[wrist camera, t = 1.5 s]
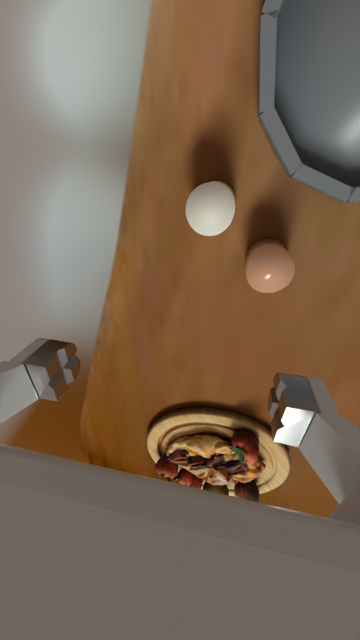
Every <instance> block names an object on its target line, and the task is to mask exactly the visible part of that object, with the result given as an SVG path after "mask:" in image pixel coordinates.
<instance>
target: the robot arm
mask: <svg viewBox="0 0 360 640" xmlns="http://www.w3.org/2000/svg"><path fill="white" fill-rule="evenodd" d="M76 352H77V349H76V346H75V344H73V343H69V342H64V341H58V340H52V339H51V340H50V339H45V338H39V339H36V340H35V341H33V342H32V343H31V344H30V345H28V346H27V347H26V348H25V349H23V350H22V351H21V352H20V353H19V354H17V355H16V356H15V357H14V358H12V359H11V360H10V361H9V362H7V361H4V362H2V363H0V423H2V422H3V421H4V420H6V419H8V418H9V417H11V416H12V415H14V414H16V413H17V412H19V411H21V410H22V409H24V408H25V407H27V406H28V405H30V404H32V403H33V402H35V401H36V400H38V398H42V399H47V400H53V401H58V400H59V399H60V398H61V396H62V395H63V394H64V393H65V391H66V390H67V389H68V386H67V384H68V383H70V382H72V381H74V380H75V378H76V377H77V376H78V373H79V371H80V360H79V358H78V357H77V356H76V355H75V353H76ZM273 382H274V387H272V388H271V389H270V392H269V397H268V411H269V415H270V416H271V417H272V418H273V419H272V422H271V431H272V437H273V442H277V443H282V444H287V445H291V446H296V447H299V449H300V451H301V452H302V453H303V455H304V456H305V458H306V459H307V460H308V462H309V463H310V465H311V466H312V467H313V469H314V470H315V471H316V473H317V474H318V476H319V477H320V478H321V480H322V481H323V483H324V484H325V485H326V487H327V488H328V489H329V491H330V492H331V494H332V495H333V496H334V498H335V499H336V500H337V502H338V503H339V506H338V507H337V508H336V509H335V510H334V512H333V513H332V514H331V515H330V516H329V518H324V517H321V516H316V515H311V514H307V513H303V512H299V511H294V510H290V509H285V508H281V507H277V506H272V505H268V504H263V503H259V502H255V501H250V500H246V499H241V498H237V497H233V496H228V495H224V494H219V493H215V492H211V491H206V490H202V489H197V488H193V487H189V486H184V485H180V484H175V483H171V482H167V481H162V480H158V479H154V478H149V477H145V476H140V475H136V474H132V473H127V472H123V471H118V470H114V469H109V468H105V467H101V466H96V465H92V464H87V463H83V462H79V461H74V460H70V459H65V458H61V457H56V456H52V455H47V454H43V453H39V452H34V451H30V450H25V449H21V448H16V447H12V446H8V445H3V444H0V640H360V430H359V429H357V428H356V427H355V426H354V425H353V424H352V423H350V422H349V421H348V420H347V419H346V418H345V417H340V416H339V414H338V412H337V410H336V408H335V405H334V403H333V401H332V399H331V397H330V394H329V392H328V390H327V388H326V386H325V383H324V381H323V380H322V379H321V378H315V377H307V376H305V377H304V376H298V375H291V374H284V373H276V374H275V376H274V379H273Z"/></svg>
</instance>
